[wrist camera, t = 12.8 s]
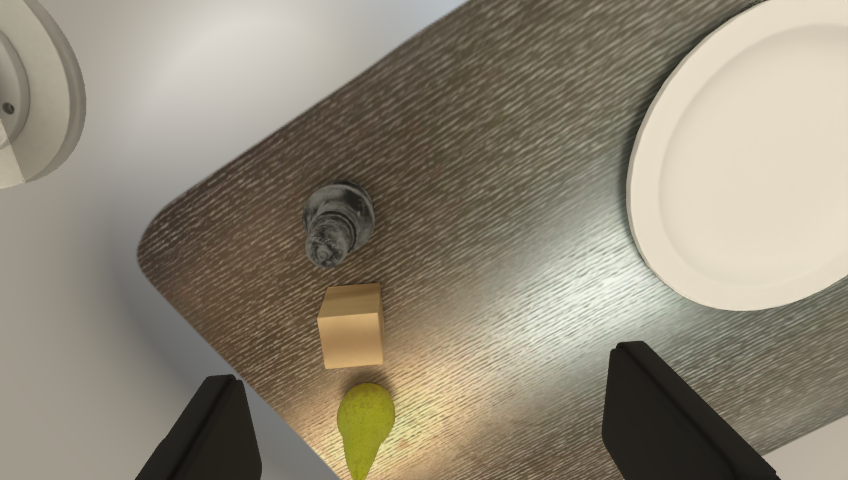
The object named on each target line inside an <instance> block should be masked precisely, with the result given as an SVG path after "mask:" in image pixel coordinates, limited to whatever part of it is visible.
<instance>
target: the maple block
mask: <svg viewBox="0 0 848 480" xmlns="http://www.w3.org/2000/svg"><path fill="white" fill-rule="evenodd" d="M317 322H318V328H319V334H320V340H321V346H322V352H323V358H324V364H325V369H333V368H344V367H354V366H365V365H375V364H383V363H384V340H385V323H384V314H383V304H382V295H381V286H380V283H369V284H357V285H346V286H334V287H328V288H327V291H326V294H325V297H324V300H323V303H322V305H321V308H320V311H319V314H318V317H317Z"/></svg>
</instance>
